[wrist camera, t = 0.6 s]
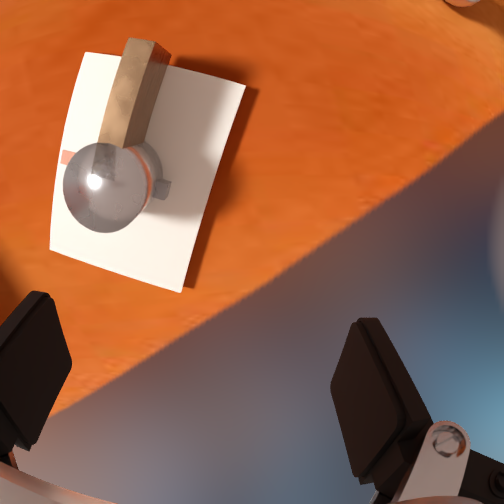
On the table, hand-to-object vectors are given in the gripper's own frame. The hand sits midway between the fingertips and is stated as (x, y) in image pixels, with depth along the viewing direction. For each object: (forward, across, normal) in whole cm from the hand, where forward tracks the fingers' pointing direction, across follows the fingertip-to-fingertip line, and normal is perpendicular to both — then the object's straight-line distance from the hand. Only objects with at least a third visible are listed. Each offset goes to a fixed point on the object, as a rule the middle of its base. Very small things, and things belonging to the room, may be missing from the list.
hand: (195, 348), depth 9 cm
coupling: (+24, +9, -4) cm, 26 cm away
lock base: (+26, +10, 0) cm, 28 cm away
